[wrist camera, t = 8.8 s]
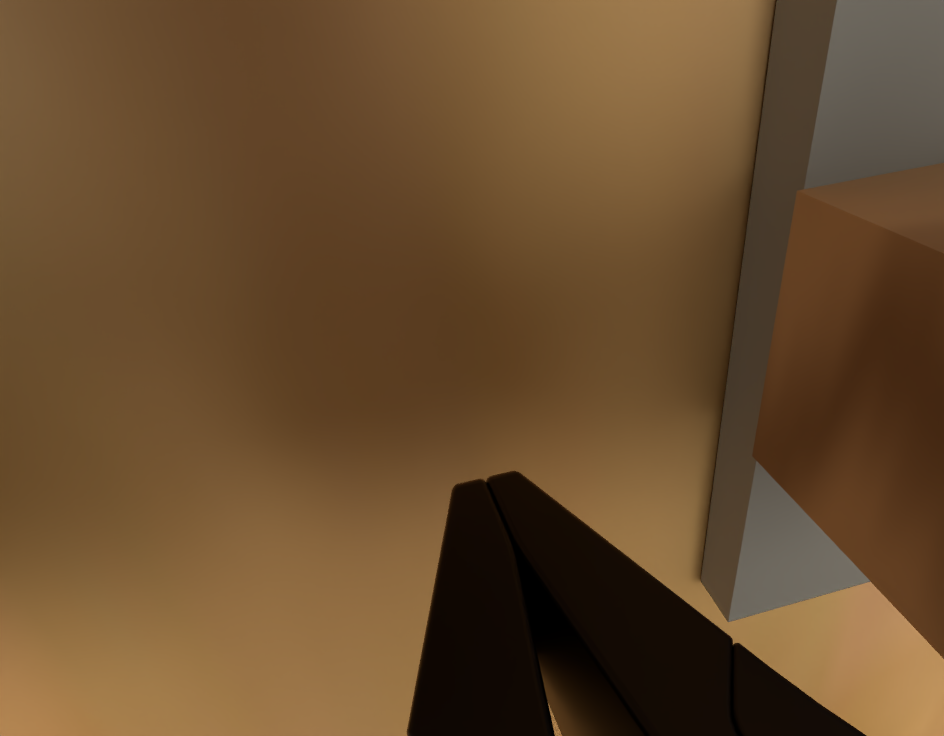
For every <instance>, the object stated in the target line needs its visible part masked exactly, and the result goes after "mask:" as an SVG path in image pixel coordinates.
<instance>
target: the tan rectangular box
mask: <svg viewBox="0 0 944 736" xmlns="http://www.w3.org/2000/svg"><path fill="white" fill-rule="evenodd" d="M752 457H753V458H754V459H755V460H756V461H757V462H758V463H759V464H760V465H761V466H762V467H763V468H764V469H765V470H766V471H767V472H768V474H769V475H770V476H771V477H772V478H773V479H774V480H775V481H776V482H777V483H778V484H779V485H780V486H781V487H782V488H783V489H784V490H785V491H786V493H787V494H788V495H789V496H790V497H791V498H792V499H793V500H794V501H795V502H796V503H797V504H798V505H799V506H800V507H801V508H802V509H803V510H804V512H805V513H806V514H807V515H808V516H809V517H810V518H811V519H812V520H813V521H814V522H815V523H816V524H817V525H818V526H819V527H820V528H821V529H822V531H823V532H824V533H825V534H826V535H827V536H828V537H829V538H830V539H831V540H832V541H833V542H834V543H835V544H836V545H837V546H838V547H839V549H840V550H841V551H842V552H843V553H844V554H845V555H846V556H847V557H848V558H849V559H850V560H851V561H852V562H853V563H854V564H855V565H856V566H857V568H858V569H859V570H860V571H861V572H862V573H863V574H864V575H865V576H866V577H867V578H868V579H869V580H870V581H871V582H872V583H873V584H874V585H875V587H876V588H877V589H878V590H879V591H880V592H881V593H882V594H883V595H884V596H885V597H886V598H887V599H888V600H889V601H890V602H891V603H892V605H893V606H894V607H895V608H896V609H897V610H898V611H899V612H900V613H901V614H902V615H903V616H904V617H905V618H906V619H907V620H908V621H909V622H910V624H911V625H912V626H913V627H914V628H915V629H916V630H917V631H918V632H919V633H920V634H921V635H922V636H923V637H924V638H925V639H926V640H927V641H928V643H929V644H930V645H931V646H932V647H933V648H934V649H935V650H936V651H937V652H938V653H939V654H940V655H941V656H942V657H943V658H944V163H940V164H935V165H929V166H924V167H919V168H914V169H908V170H903V171H898V172H893V173H887V174H882V175H877V176H872V177H866V178H861V179H856V180H850V181H845V182H840V183H835V184H829V185H824V186H819V187H814V188H808V189H803V190H798V191H797V194H796V200H795V206H794V211H793V217H792V223H791V229H790V235H789V241H788V247H787V253H786V259H785V264H784V270H783V276H782V282H781V288H780V294H779V300H778V306H777V312H776V318H775V323H774V329H773V335H772V341H771V347H770V353H769V359H768V365H767V371H766V377H765V382H764V388H763V394H762V400H761V406H760V412H759V418H758V424H757V430H756V435H755V441H754V447H753V453H752Z"/></svg>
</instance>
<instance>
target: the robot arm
mask: <svg viewBox="0 0 944 736" xmlns="http://www.w3.org/2000/svg"><path fill="white" fill-rule="evenodd" d="M548 703H549V705H550V708H551V710H552V712H553V715H554V717H555V720H556V722H557V724H558V727H559V729H560V731H561V734H562V736H866V735H865V734H863V733H862V732H860V731H859V730H857V729H856V728H854V727H853V726H851V725H850V724H849V723H847V722H846V721H844V720H843V719H841V718H840V717H838V716H837V715H835V714H834V713H832V712H831V711H829V710H828V709H826V708H825V707H823V706H822V705H820V704H819V703H818V702H816V701H815V700H814V699H812V698H811V697H809V696H808V695H807V694H805V693H804V692H803V691H801V690H800V689H799V688H797V687H796V686H795V685H793V684H792V683H791V682H789V681H788V680H787V679H785V678H784V677H783V676H781V675H780V674H778V673H777V672H776V671H774V670H773V669H772V668H770V667H769V666H768V665H766V664H765V663H764V662H763V661H761V660H760V659H759V658H757V657H756V656H755V655H754V654H752V653H751V652H750V651H749V650H747V649H746V648H745V647H743V646H742V645H741V644H740V643H735V644H733V640H732V638H731V637H730V636H729V635H728V634H726V633H725V632H724V631H723V630H721V629H720V628H719V627H717V626H716V625H715V624H714V623H712V622H711V621H710V620H708V619H707V618H706V617H705V616H703V615H702V614H701V613H699V612H698V611H697V610H696V609H694V608H693V607H692V606H690V605H689V604H688V603H687V602H685V601H684V600H683V599H681V598H680V597H679V596H678V595H676V594H675V593H674V592H672V591H671V590H670V589H669V588H667V587H666V586H665V585H663V584H662V583H661V582H660V581H658V580H657V579H656V578H654V577H653V576H652V575H651V574H649V573H648V572H647V571H645V570H644V569H643V568H642V567H640V566H639V565H638V564H636V563H635V562H634V561H633V560H631V559H630V558H629V557H627V556H626V555H625V554H624V553H622V552H621V551H620V550H618V549H617V548H616V547H615V546H613V545H612V544H611V543H609V542H608V541H607V540H606V539H604V538H603V537H602V536H600V535H599V534H598V533H597V532H595V531H594V530H593V529H591V528H590V527H589V526H588V525H586V524H585V523H584V522H582V521H581V520H580V519H579V518H577V517H576V516H575V515H574V514H572V513H571V512H570V511H568V510H567V509H566V508H565V507H563V506H562V505H561V504H559V503H558V502H557V501H556V500H554V499H553V498H552V497H550V496H549V495H548V494H547V493H545V492H544V491H543V490H541V489H540V488H539V487H538V486H536V485H535V484H534V483H532V482H531V481H530V480H529V479H527V478H526V477H525V476H523V475H522V474H521V473H519V472H517V471H510V472H506V473H501V474H497V475H493V476H490V477H488V478H487V480H486V482H485V481H484V480H483V479H476V480H472V481H468V482H464V483H460V484H456V485H455V486H454V487H453V489H452V493H451V498H450V504H449V509H448V515H447V520H446V525H445V531H444V536H443V541H442V547H441V552H440V557H439V563H438V568H437V573H436V579H435V584H434V590H433V595H432V600H431V606H430V611H429V616H428V622H427V627H426V632H425V638H424V643H423V648H422V654H421V659H420V665H419V670H418V675H417V681H416V686H415V691H414V697H413V702H412V707H411V713H410V718H409V723H408V729H407V736H555V735H554V730H553V725H552V720H551V716H550V711H549V706H548Z"/></svg>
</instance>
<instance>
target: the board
mask: <svg viewBox="0 0 944 736" xmlns="http://www.w3.org/2000/svg"><path fill="white" fill-rule="evenodd" d="M940 163H944V0H777V2H776V9H775V17H774V25H773V32H772V40H771V48H770V55H769V63H768V71H767V78H766V86H765V93H764V101H763V109H762V116H761V124H760V132H759V139H758V147H757V155H756V162H755V170H754V177H753V185H752V193H751V200H750V208H749V216H748V223H747V231H746V239H745V246H744V254H743V261H742V269H741V277H740V284H739V292H738V300H737V307H736V315H735V322H734V330H733V338H732V345H731V353H730V361H729V368H728V376H727V384H726V391H725V399H724V406H723V414H722V422H721V429H720V437H719V445H718V452H717V460H716V468H715V475H714V483H713V490H712V498H711V506H710V513H709V521H708V529H707V536H706V544H705V552H704V559H703V567H702V574H701V582H702V584H703V585H704V587H705V588H706V590H707V591H708V593H709V594H710V596H711V597H712V599H713V600H714V602H715V603H716V605H717V606H718V608H719V609H720V611H721V612H722V614H723V615H724V617H725V618H726V620H727V621H728V622H731V621H734V620H738V619H741V618H745V617H748V616H752V615H755V614H759V613H762V612H766V611H769V610H772V609H776V608H779V607H783V606H786V605H790V604H793V603H797V602H800V601H804V600H807V599H811V598H814V597H818V596H821V595H825V594H828V593H832V592H835V591H839V590H842V589H846V588H849V587H853V586H856V585H860V584H863V583H867V582H870V580H869V579H868V578H867V577H866V576H865V575H864V574H863V573H862V572H861V571H860V570H859V569H858V568H857V566H856V565H855V564H854V563H853V562H852V561H851V560H850V559H849V558H848V557H847V556H846V555H845V554H844V553H843V552H842V551H841V550H840V549H839V547H838V546H837V545H836V544H835V543H834V542H833V541H832V540H831V539H830V538H829V537H828V536H827V535H826V534H825V533H824V532H823V531H822V529H821V528H820V527H819V526H818V525H817V524H816V523H815V522H814V521H813V520H812V519H811V518H810V517H809V516H808V515H807V514H806V513H805V512H804V510H803V509H802V508H801V507H800V506H799V505H798V504H797V503H796V502H795V501H794V500H793V499H792V498H791V497H790V496H789V495H788V494H787V493H786V491H785V490H784V489H783V488H782V487H781V486H780V485H779V484H778V483H777V482H776V481H775V480H774V479H773V478H772V477H771V476H770V475H769V474H768V472H767V471H766V470H765V469H764V468H763V467H762V466H761V465H760V464H759V463H758V462H757V461H756V460H755V459H754V458H753V457H752V453H753V447H754V441H755V435H756V430H757V424H758V418H759V412H760V406H761V400H762V394H763V388H764V382H765V377H766V371H767V365H768V359H769V353H770V347H771V341H772V335H773V329H774V323H775V318H776V312H777V306H778V300H779V294H780V288H781V282H782V276H783V270H784V264H785V259H786V253H787V247H788V241H789V235H790V229H791V223H792V217H793V211H794V206H795V200H796V194H797V191H798V190H803V189H808V188H814V187H819V186H824V185H829V184H835V183H840V182H845V181H850V180H856V179H861V178H866V177H872V176H877V175H882V174H887V173H893V172H898V171H903V170H908V169H914V168H919V167H924V166H929V165H935V164H940Z"/></svg>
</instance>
